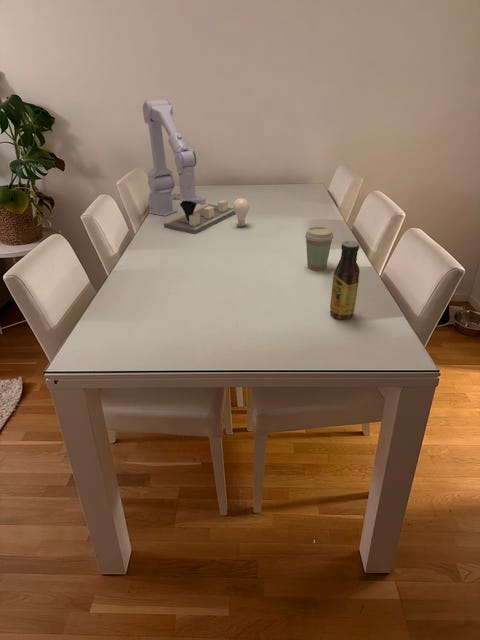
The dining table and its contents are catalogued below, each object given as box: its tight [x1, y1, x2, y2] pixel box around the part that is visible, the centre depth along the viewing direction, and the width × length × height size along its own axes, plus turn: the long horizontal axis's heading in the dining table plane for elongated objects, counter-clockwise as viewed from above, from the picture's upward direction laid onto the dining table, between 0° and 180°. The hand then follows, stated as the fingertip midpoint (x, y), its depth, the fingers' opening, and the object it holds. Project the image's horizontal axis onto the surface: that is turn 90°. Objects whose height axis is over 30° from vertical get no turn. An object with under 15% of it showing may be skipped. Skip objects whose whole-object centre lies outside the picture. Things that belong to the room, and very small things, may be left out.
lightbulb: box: [232, 197, 250, 228], centre depth 178 cm, size 6×6×11 cm
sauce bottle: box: [329, 240, 361, 320], centre depth 115 cm, size 7×6×20 cm
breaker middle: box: [204, 206, 214, 219], centre depth 185 cm, size 2×4×4 cm
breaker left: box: [217, 199, 229, 212], centre depth 193 cm, size 2×4×4 cm
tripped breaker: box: [189, 213, 200, 226], centre depth 178 cm, size 2×4×4 cm
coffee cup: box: [304, 226, 334, 272], centre depth 144 cm, size 8×8×12 cm
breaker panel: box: [163, 203, 236, 235], centre depth 188 cm, size 15×30×2 cm, turn 148°
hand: (189, 220), depth 179 cm, fingers closed
